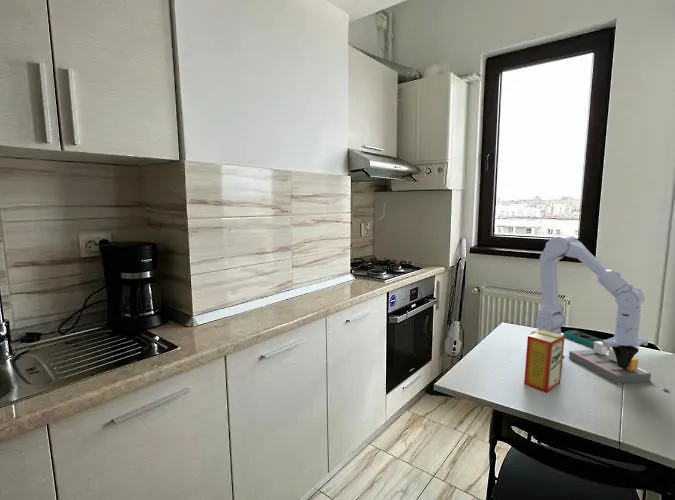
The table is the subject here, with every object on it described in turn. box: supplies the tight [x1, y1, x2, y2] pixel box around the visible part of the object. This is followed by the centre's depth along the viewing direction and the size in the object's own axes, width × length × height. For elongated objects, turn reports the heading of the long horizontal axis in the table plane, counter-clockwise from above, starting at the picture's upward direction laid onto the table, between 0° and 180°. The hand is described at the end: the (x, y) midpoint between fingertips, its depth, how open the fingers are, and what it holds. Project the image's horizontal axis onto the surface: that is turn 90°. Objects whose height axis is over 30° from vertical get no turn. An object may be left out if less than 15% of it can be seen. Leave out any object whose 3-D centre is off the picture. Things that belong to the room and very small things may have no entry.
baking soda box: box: [523, 329, 566, 394], centre depth 110 cm, size 10×6×16 cm
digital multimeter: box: [562, 329, 604, 350], centre depth 144 cm, size 7×15×3 cm, turn 20°
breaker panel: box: [568, 341, 652, 385], centre depth 121 cm, size 12×19×6 cm, turn 9°
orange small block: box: [627, 356, 639, 371], centre depth 115 cm, size 2×3×4 cm
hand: (622, 367), depth 115 cm, fingers closed
